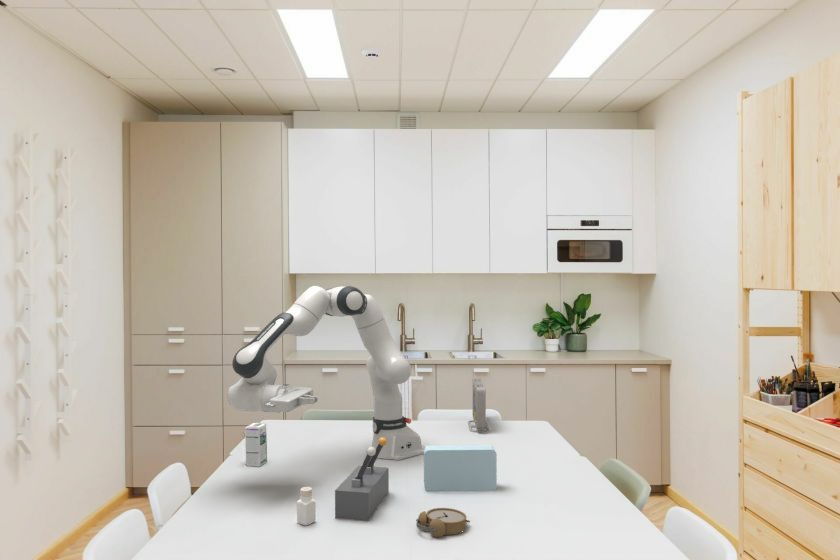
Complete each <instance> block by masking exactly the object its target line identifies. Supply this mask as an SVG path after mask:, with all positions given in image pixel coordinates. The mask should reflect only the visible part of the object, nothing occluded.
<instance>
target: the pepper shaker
mask: <svg viewBox="0 0 840 560" xmlns="http://www.w3.org/2000/svg"><path fill="white" fill-rule="evenodd" d="M299 492H300V498H299V500H297V502H296V522H297V523H298V524H301V525H303V526H308V525H310V524H312V523H314V522H316V517H317V516H316V512H317V510H316V506H317V505H316V503H317V502H316V500H315V499H314V498H312V496H313V488H312V487H311V486H303V487H301V488H300V491H299Z"/></svg>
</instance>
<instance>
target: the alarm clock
mask: <svg viewBox="0 0 840 560" xmlns="http://www.w3.org/2000/svg"><path fill="white" fill-rule="evenodd" d="M415 521H416V522H415V523H416V524H415V525H416V527H417V529H419V530H422V531H424V532H425V531H426V532H430V534H431V535H432V536H433V537H435V538H441V537H442V536H444V535H457V534H461V533H463V532H464V530H465V531H466V529H467V523H471V520H469V519H467V515H466V513H464V512H463V511H461V510H458V509H454V508H452V507H451V508H450V507H437V508H432V509H429V510H427V511H421V512H420V513H419V515H418V518H416V519H415ZM462 531H463V532H462ZM460 532H461V533H460Z"/></svg>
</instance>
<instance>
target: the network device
mask: <svg viewBox="0 0 840 560" xmlns="http://www.w3.org/2000/svg"><path fill="white" fill-rule="evenodd" d="M486 393H487V392H486V386H485V385H484V383H483V381H482V379H481V378H472V418H473V420H471V419H470V420H468V421H467V425H468V428H469V429H468V430H469V432H472V433H489V432H490V428H489V427H490V426H489V425H488V422H487V417H486V415H487V414H486V412H487V411H486V410H487V409H486V408H487V406H486V403H487V400H486V399H487V398H486V397H487V396H486V395H487V394H486ZM471 423H474V424H471Z"/></svg>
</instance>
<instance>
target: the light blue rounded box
mask: <svg viewBox="0 0 840 560" xmlns="http://www.w3.org/2000/svg"><path fill="white" fill-rule="evenodd" d="M497 455H498V454H497V451H496V450H495V448H494V446H493V445H490V444H485V445H484V444H481V445H479V444H476V445H475V444H474V445H473V444H472V445H469V444H468V445H466V444H465V445H461V444H460V445H459V444H457V445H455V444H453V445H427V446H425V448H424V454H423V483H424V484H423V488H424V490H425V491H426V492H485V491H486V492H489V491H490V492H491V491H495V490H496V489H497V483H498V481H497V478H498V477H497V476H498V475H497V472H498V471H497V470H498V469H497V461H498V460H497Z"/></svg>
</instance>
